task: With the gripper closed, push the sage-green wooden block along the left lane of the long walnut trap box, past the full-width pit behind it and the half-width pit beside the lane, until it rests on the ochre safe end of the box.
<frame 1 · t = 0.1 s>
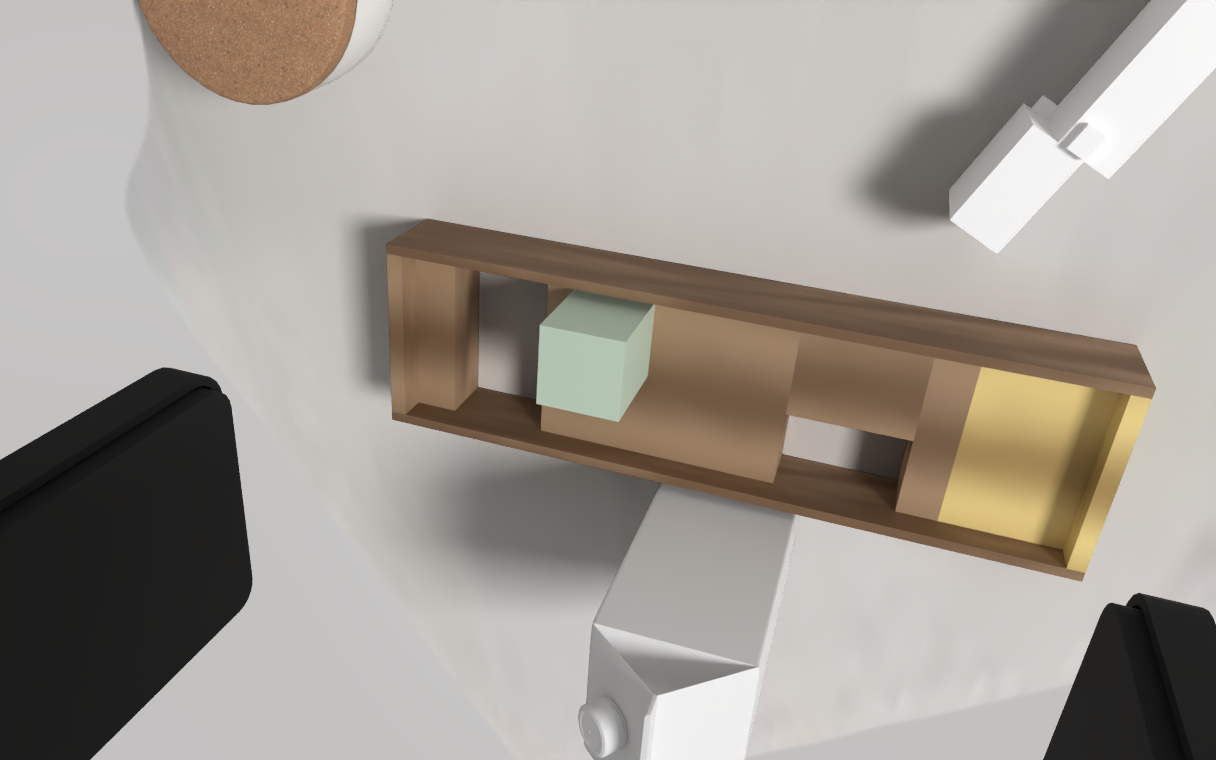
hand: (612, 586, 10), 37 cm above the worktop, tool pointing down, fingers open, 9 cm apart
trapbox: (737, 367, 49), on the worktop
block: (612, 332, 47), point 3 cm above the worktop, touching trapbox
napkin holder: (1058, 101, 40), on the worktop
milk carton: (733, 514, 53), on the worktop
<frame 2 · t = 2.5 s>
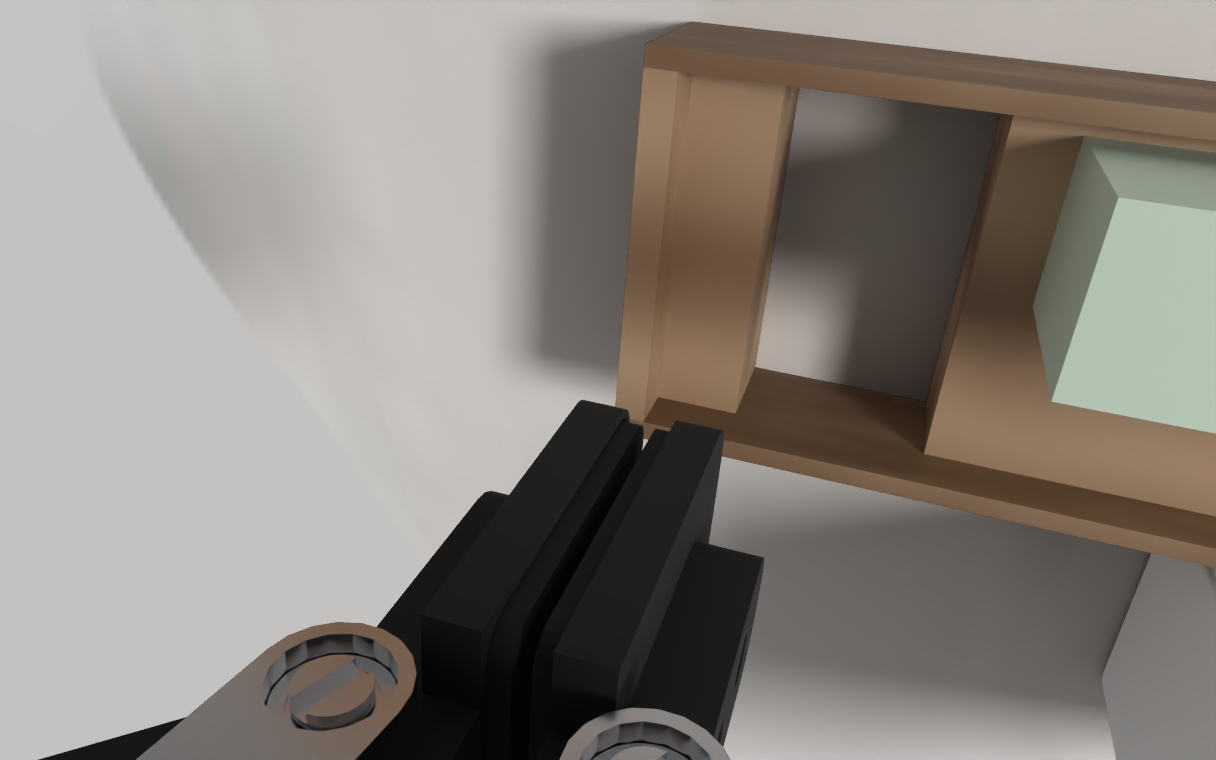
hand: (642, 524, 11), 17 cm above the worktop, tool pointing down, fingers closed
block: (1153, 239, 21), point 3 cm above the worktop, touching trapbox
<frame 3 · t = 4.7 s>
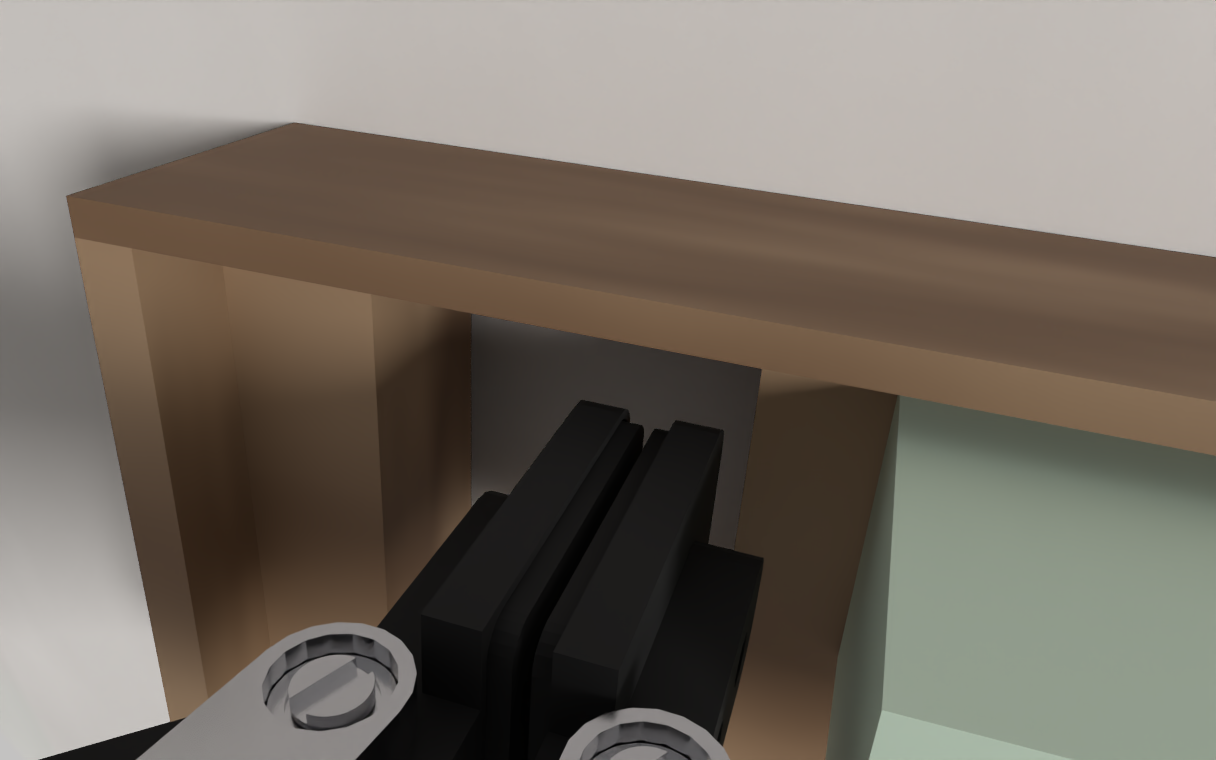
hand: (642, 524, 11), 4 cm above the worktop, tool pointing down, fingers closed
block: (1045, 569, 11), point 3 cm above the worktop, touching gripper, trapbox
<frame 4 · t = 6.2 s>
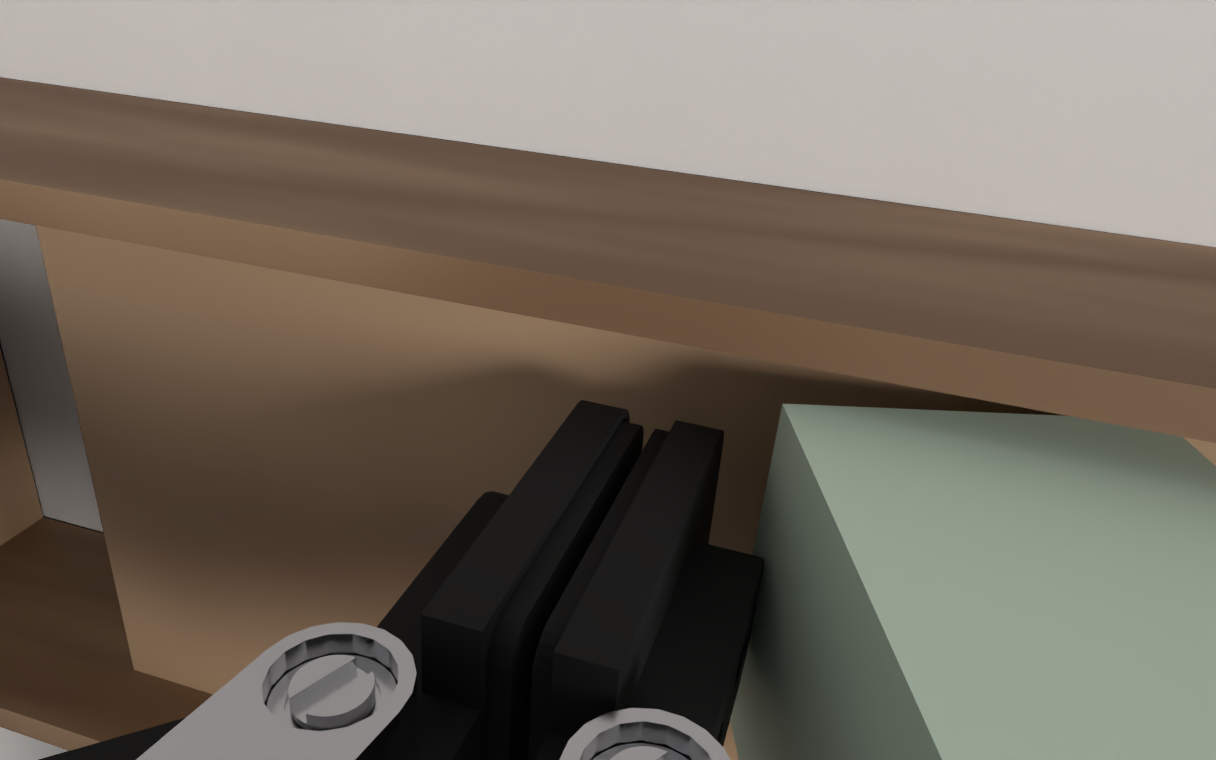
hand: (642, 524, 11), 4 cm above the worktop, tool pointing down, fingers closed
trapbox: (713, 487, 15), on the worktop
block: (928, 568, 11), point 4 cm above the worktop, tilted 21°, touching gripper
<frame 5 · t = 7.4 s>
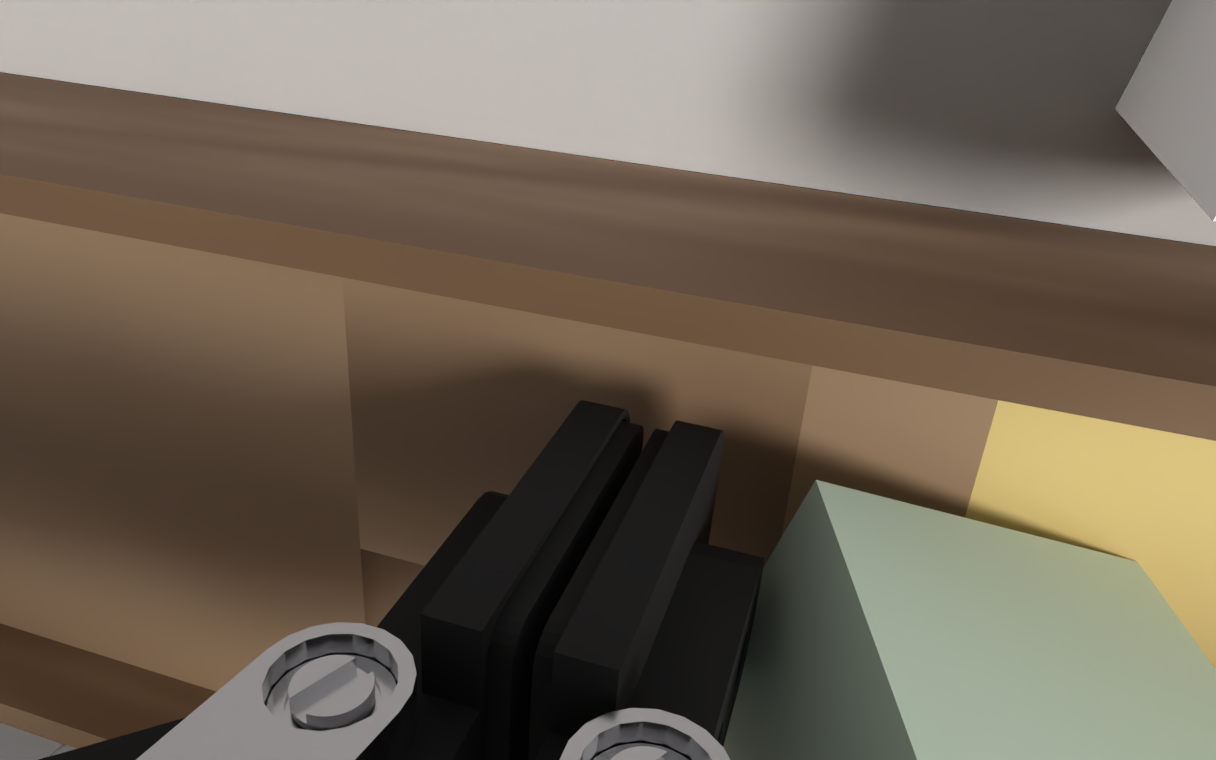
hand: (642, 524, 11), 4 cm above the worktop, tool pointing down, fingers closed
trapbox: (297, 392, 17), on the worktop
block: (892, 645, 11), point 4 cm above the worktop, tilted 22°, touching gripper
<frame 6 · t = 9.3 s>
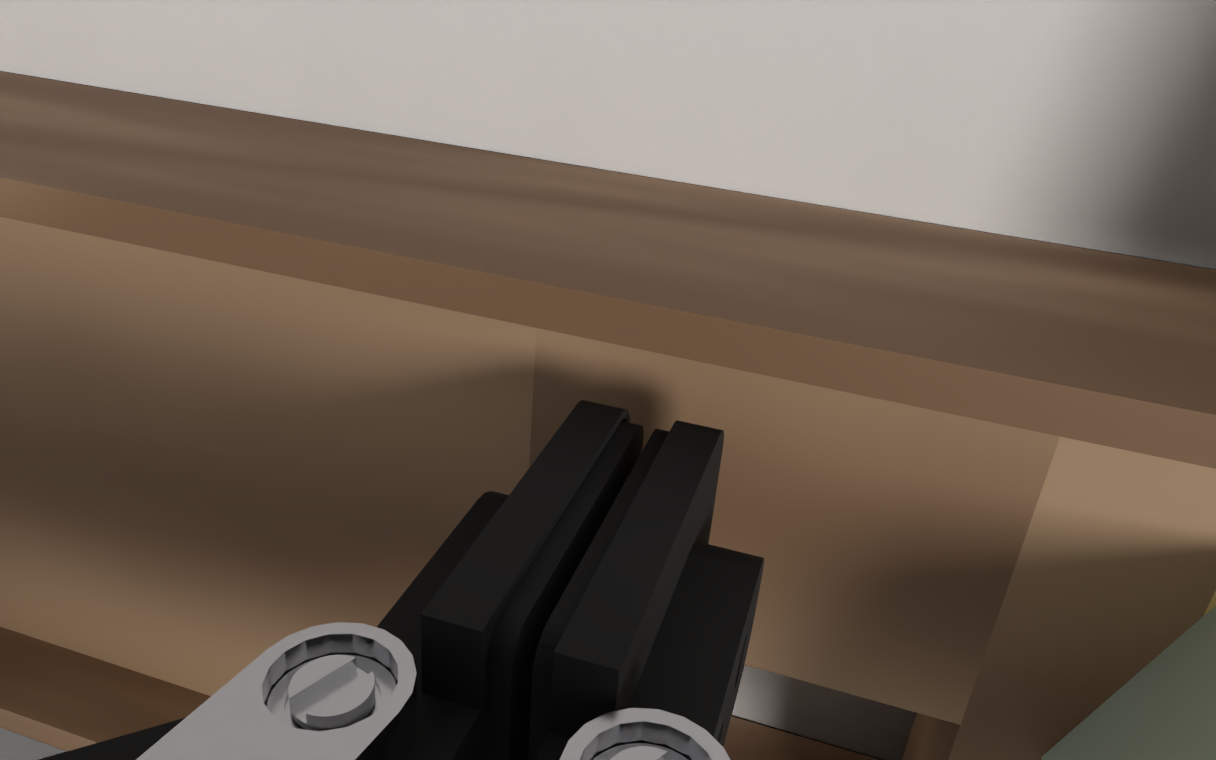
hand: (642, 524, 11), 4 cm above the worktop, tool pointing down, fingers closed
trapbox: (427, 428, 17), on the worktop
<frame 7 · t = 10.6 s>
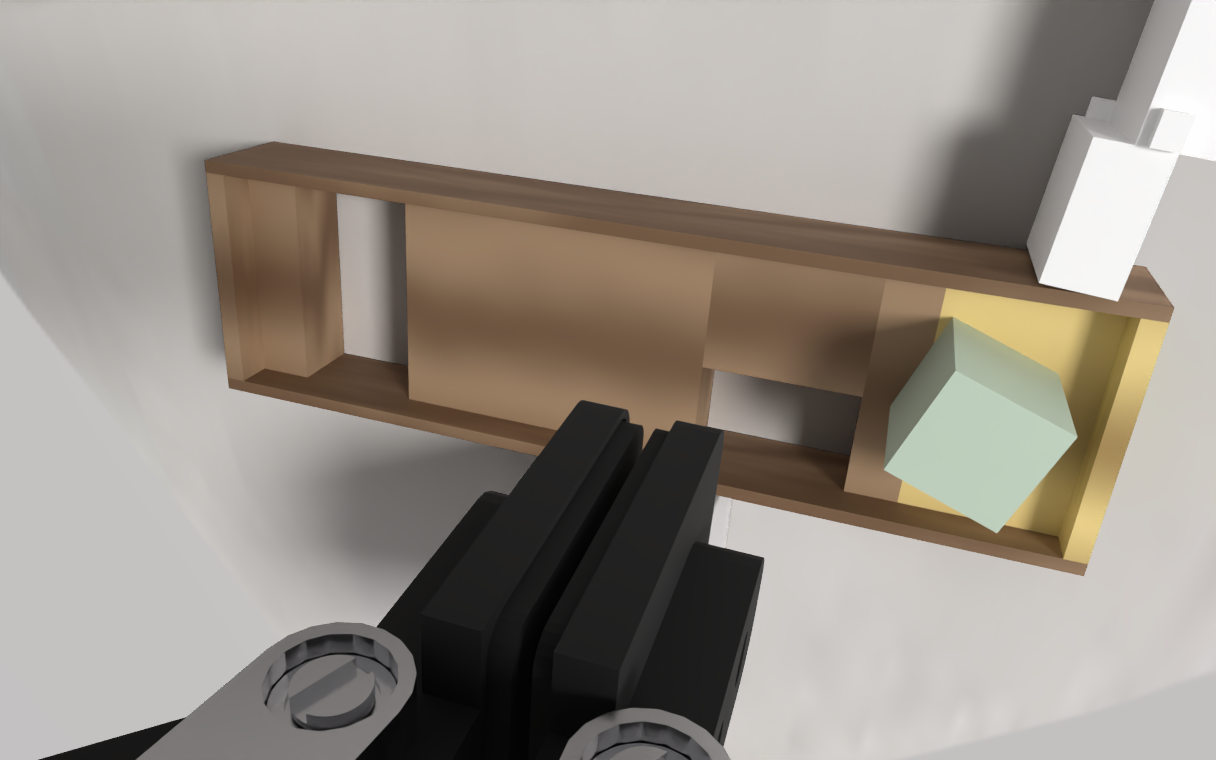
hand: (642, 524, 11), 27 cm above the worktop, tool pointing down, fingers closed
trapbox: (648, 316, 40), on the worktop
block: (971, 390, 34), point 3 cm above the worktop, touching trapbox
napkin holder: (1116, 95, 32), on the worktop
milk carton: (652, 505, 43), on the worktop
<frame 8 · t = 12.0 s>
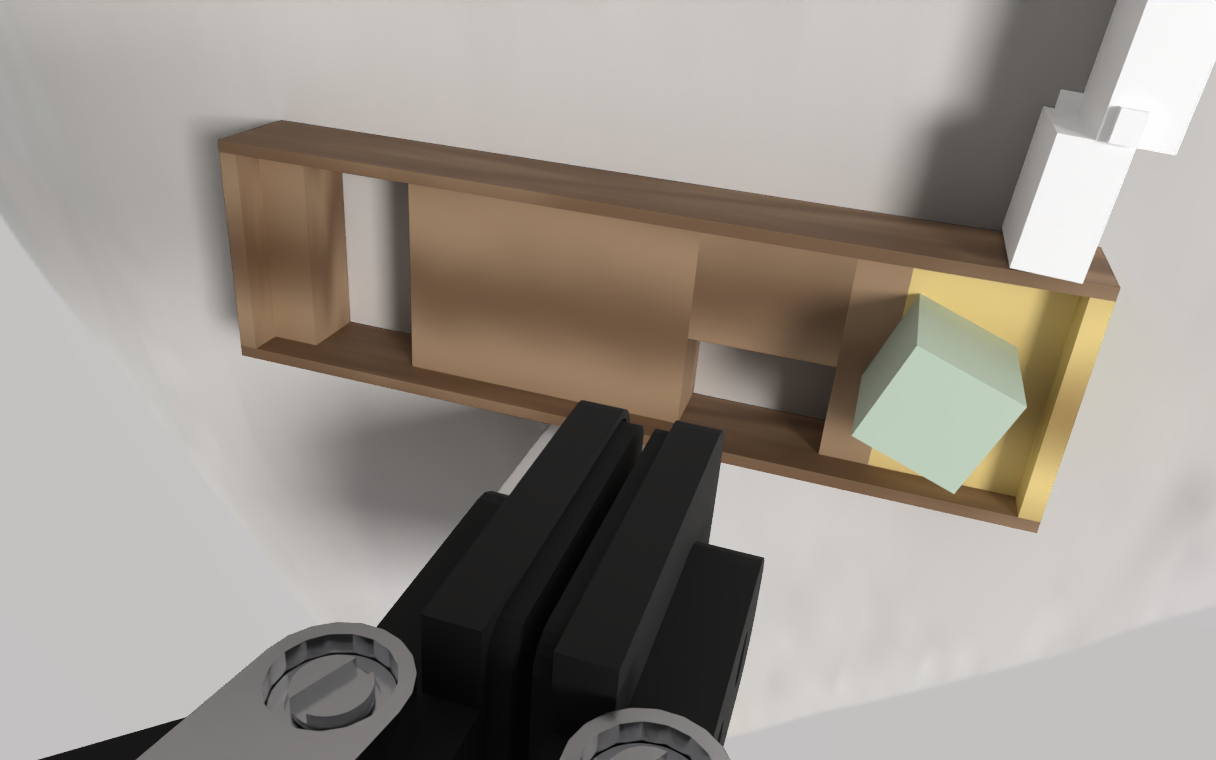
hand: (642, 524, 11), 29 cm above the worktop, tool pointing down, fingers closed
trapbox: (638, 289, 42), on the worktop
block: (936, 361, 36), point 3 cm above the worktop, touching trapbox
napkin holder: (1083, 87, 34), on the worktop
milk carton: (642, 466, 46), on the worktop
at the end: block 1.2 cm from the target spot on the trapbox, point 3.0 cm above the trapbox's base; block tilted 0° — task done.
